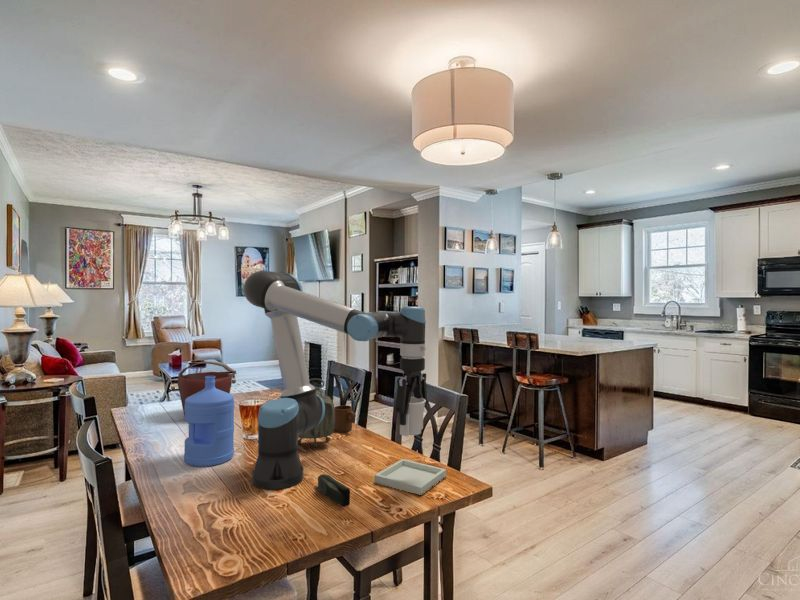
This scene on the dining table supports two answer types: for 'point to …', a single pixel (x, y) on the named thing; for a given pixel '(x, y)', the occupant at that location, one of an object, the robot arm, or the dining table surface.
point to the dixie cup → (416, 415)
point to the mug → (343, 418)
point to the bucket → (203, 381)
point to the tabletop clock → (326, 424)
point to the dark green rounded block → (333, 490)
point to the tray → (410, 476)
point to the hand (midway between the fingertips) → (411, 431)
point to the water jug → (209, 426)
